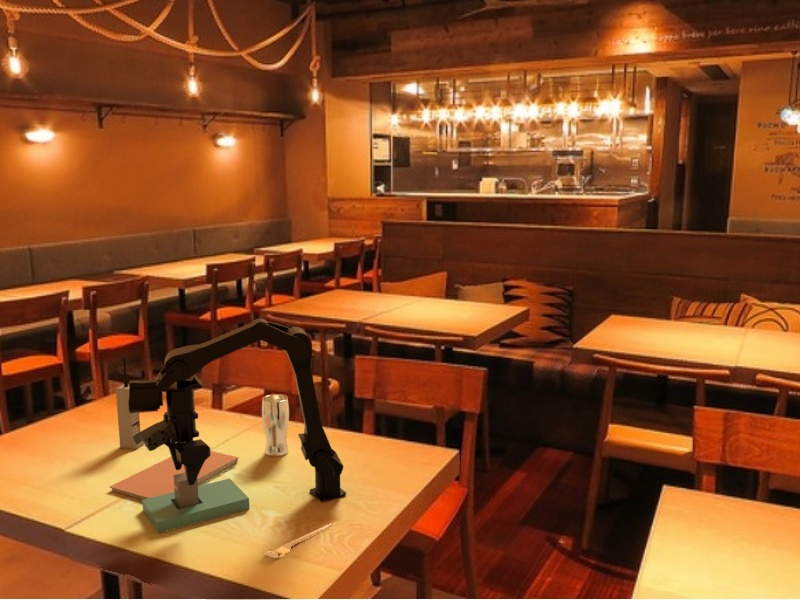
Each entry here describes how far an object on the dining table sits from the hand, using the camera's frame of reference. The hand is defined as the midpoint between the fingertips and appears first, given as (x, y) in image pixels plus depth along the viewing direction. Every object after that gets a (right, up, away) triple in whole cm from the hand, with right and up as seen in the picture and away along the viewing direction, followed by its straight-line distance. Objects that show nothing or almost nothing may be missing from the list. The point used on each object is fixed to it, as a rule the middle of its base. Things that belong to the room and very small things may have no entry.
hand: (184, 477), depth 156 cm
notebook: (-7, -5, +20) cm, 21 cm away
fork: (+27, -11, -10) cm, 31 cm away
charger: (0, -8, +2) cm, 8 cm away
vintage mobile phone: (-25, -1, +38) cm, 46 cm away
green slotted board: (+2, -8, +3) cm, 8 cm away
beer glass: (+14, -2, +34) cm, 37 cm away
